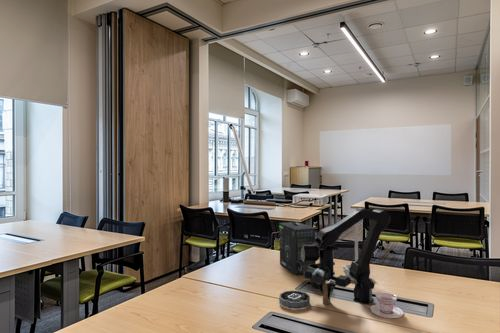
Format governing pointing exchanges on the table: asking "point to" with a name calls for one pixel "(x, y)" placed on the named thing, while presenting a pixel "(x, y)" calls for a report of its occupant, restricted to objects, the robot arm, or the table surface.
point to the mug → (313, 284)
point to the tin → (294, 300)
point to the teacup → (386, 306)
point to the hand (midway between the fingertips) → (326, 297)
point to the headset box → (295, 245)
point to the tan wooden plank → (325, 293)
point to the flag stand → (346, 268)
